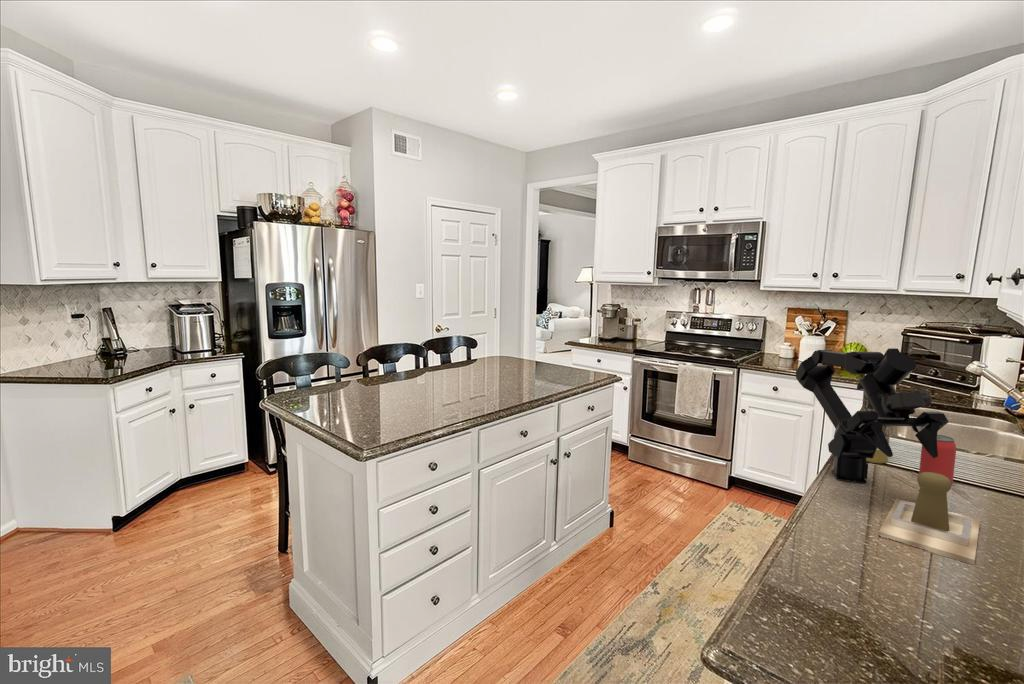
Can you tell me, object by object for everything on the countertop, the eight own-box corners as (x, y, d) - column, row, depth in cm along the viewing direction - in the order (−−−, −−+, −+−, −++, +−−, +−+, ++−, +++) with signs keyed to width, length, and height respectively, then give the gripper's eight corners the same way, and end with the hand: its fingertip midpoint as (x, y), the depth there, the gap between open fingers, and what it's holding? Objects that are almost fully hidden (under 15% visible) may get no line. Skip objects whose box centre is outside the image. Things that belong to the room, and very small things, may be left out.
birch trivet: (878, 536, 96) (878, 531, 96) (896, 502, 111) (896, 498, 111) (974, 565, 86) (974, 559, 86) (979, 523, 101) (980, 519, 101)
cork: (920, 515, 103) (925, 466, 102) (955, 528, 97) (961, 477, 96) (904, 521, 100) (909, 471, 99) (939, 535, 95) (945, 482, 94)
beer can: (918, 475, 128) (922, 431, 126) (951, 481, 124) (956, 436, 122) (918, 482, 123) (923, 437, 121) (953, 489, 119) (958, 443, 117)
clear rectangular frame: (890, 524, 99) (891, 518, 99) (899, 507, 107) (900, 500, 107) (967, 546, 91) (968, 539, 90) (971, 525, 99) (971, 518, 98)
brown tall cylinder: (892, 465, 135) (899, 378, 132) (865, 463, 136) (871, 377, 134) (879, 457, 141) (886, 374, 139) (853, 455, 143) (860, 373, 140)
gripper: (858, 376, 108) (888, 439, 98) (946, 377, 106) (985, 440, 97) (835, 402, 116) (860, 461, 107) (916, 403, 115) (949, 463, 105)
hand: (913, 456), depth 104 cm, fingers open, 9 cm apart
